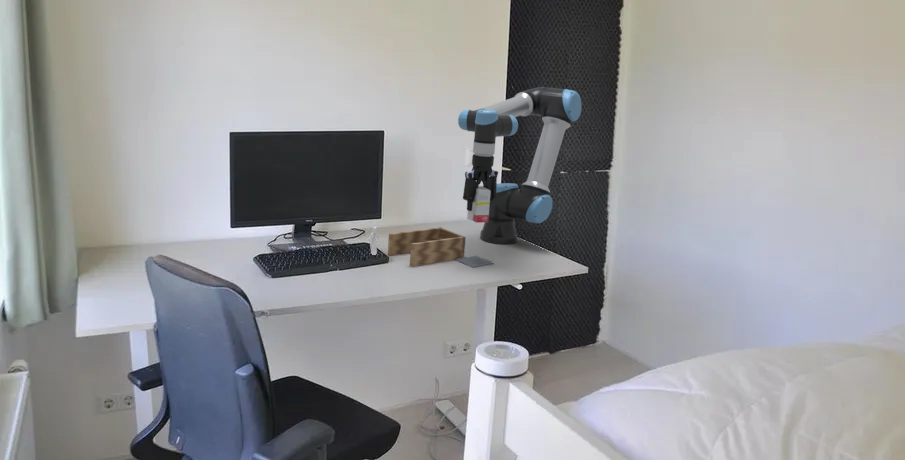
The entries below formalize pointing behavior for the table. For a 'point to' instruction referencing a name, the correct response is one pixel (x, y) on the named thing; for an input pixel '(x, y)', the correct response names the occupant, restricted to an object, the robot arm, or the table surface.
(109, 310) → the table surface
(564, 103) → the robot arm
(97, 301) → the table surface
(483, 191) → the ink box
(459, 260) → the mat
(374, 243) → the figurine
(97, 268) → the table surface
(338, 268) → the table surface
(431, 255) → the wooden frame
